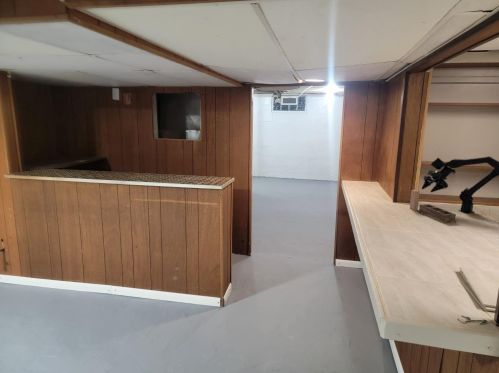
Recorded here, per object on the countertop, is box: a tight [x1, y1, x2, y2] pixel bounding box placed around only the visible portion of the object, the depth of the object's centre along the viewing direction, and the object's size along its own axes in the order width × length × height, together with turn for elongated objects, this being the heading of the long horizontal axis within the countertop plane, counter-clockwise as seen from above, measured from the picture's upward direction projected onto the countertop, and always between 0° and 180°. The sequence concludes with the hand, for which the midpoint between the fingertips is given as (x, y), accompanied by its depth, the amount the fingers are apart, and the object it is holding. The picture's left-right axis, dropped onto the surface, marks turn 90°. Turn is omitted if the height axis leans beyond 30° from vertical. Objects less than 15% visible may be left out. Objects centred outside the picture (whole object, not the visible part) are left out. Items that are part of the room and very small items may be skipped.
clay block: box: [409, 189, 421, 211], centre depth 219 cm, size 3×4×13 cm, turn 7°
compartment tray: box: [417, 203, 457, 224], centre depth 201 cm, size 9×24×5 cm, turn 7°
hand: (426, 190), depth 218 cm, fingers open, 9 cm apart
